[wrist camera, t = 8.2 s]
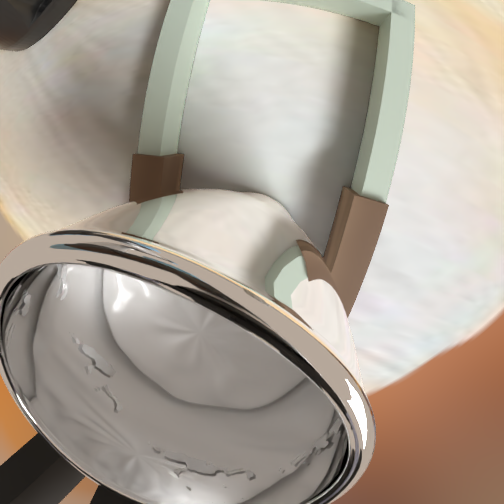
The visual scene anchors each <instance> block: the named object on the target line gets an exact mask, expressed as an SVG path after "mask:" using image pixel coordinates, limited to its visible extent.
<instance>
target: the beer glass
mask: <svg viewBox="0 0 504 504" xmlns="http://www.w3.org/2000/svg"><path fill="white" fill-rule="evenodd" d="M0 373H1V376H2V378H3V380H4V382H5V384H6V386H7V388H8V390H9V392H10V394H11V396H12V397H13V399H14V401H15V402H16V404H17V406H18V407H19V408H20V410H21V412H22V413H23V415H24V416H25V417H26V419H27V420H28V421H29V423H30V424H31V425H32V426H33V428H34V429H35V430H36V431H37V432H38V434H39V435H40V436H41V437H42V438H43V439H44V440H45V441H46V442H47V443H48V444H49V445H50V446H51V447H52V448H53V449H54V450H55V451H56V452H57V453H58V454H59V455H60V456H61V457H62V458H63V459H64V460H66V461H67V462H68V463H69V464H70V465H72V466H73V467H74V468H75V469H77V470H78V471H79V472H81V473H82V474H83V475H85V476H86V477H88V478H89V479H91V480H92V481H94V482H95V483H97V484H98V485H100V486H102V487H103V488H105V489H107V490H108V491H110V492H112V493H114V494H116V495H118V496H120V497H122V498H124V499H126V500H128V501H130V502H132V503H134V504H330V503H332V502H333V501H335V500H337V499H338V498H339V497H341V496H342V495H343V494H345V493H346V492H347V491H348V490H350V488H351V487H353V486H354V485H355V484H356V482H357V481H358V480H359V479H360V477H361V476H362V475H363V473H364V471H365V470H366V468H367V467H368V465H369V463H370V460H371V458H372V455H373V452H374V447H375V439H376V427H375V420H374V415H373V411H372V408H371V405H370V403H369V400H368V398H367V395H366V393H365V390H364V386H363V381H362V377H361V372H360V368H359V363H358V358H357V354H356V349H355V345H354V340H353V336H352V333H351V329H350V326H349V322H348V319H347V315H346V312H345V308H344V305H343V302H342V299H341V297H340V294H339V292H338V289H337V287H336V285H335V282H334V280H333V277H332V275H331V273H330V271H329V269H328V266H327V265H326V263H325V261H324V259H323V257H322V256H321V254H320V253H319V251H318V250H317V248H316V247H315V246H314V244H313V243H312V241H311V240H310V239H309V237H308V236H307V235H306V233H305V232H304V231H303V230H302V229H301V228H300V227H299V226H298V225H297V224H296V223H295V222H294V221H293V219H292V217H291V216H290V214H289V213H288V211H287V210H286V209H285V208H284V207H283V206H282V205H281V204H280V203H278V202H277V201H276V200H274V199H272V198H271V197H268V196H266V195H264V194H260V193H255V192H237V191H231V190H224V189H184V190H177V191H172V192H167V193H162V194H157V195H152V196H148V197H144V198H141V199H138V200H135V201H132V202H129V203H126V204H123V205H120V206H117V207H114V208H111V209H108V210H105V211H103V212H100V213H98V214H95V215H93V216H90V217H88V218H86V219H83V220H81V221H78V222H76V223H74V224H71V225H69V226H66V227H64V228H61V229H59V230H53V231H49V232H45V233H41V234H38V235H35V236H33V237H31V238H29V239H27V240H25V241H23V242H22V243H20V244H19V245H18V246H16V247H15V248H14V249H13V250H12V251H10V252H9V253H8V255H7V256H6V257H5V258H4V259H3V261H2V262H1V264H0Z"/></svg>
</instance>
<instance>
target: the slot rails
mask: <svg viewBox="0 0 504 504" xmlns="http://www.w3.org/2000/svg"><path fill="white" fill-rule="evenodd" d="M183 159H184V154H170V155H164V156H155V155H145V154H133V158H132V169H131V182H130V199H129V202H132V201H135V200H138V199H141V198H144V197H148V196H152V195H157V194H162V193H167V192H172V191H177V190H180V182H181V174H182V166H183ZM388 206H389V205H388V204H386V203H384V202H380V201H377V200H374V199H370V198H367V197H363V196H360V195H359V194H358V193H357V192H355V191H354V190H352V189H351V188H348V187H345V186H343V188H342V192H341V196H340V200H339V204H338V207H337V211H336V215H335V219H334V222H333V226H332V229H331V233H330V236H329V240H328V243H327V247H326V250H325V253H324V257H323V259H324V261H325V263H326V265H327V266H328V269H329V271H330V273H331V275H332V277H333V280H334V282H335V285H336V287H337V289H338V292H339V294H340V297H341V299H342V302H343V305H344V308H345V312H346V315H347V319H348V316H349V314H350V312H351V309H352V307H353V305H354V302H355V300H356V297H357V295H358V292H359V290H360V287H361V285H362V282H363V280H364V277H365V275H366V272H367V269H368V267H369V264H370V261H371V258H372V256H373V253H374V250H375V247H376V244H377V241H378V238H379V235H380V232H381V229H382V226H383V222H384V219H385V216H386V213H387V209H388Z"/></svg>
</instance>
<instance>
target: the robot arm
mask: <svg viewBox="0 0 504 504" xmlns="http://www.w3.org/2000/svg"><path fill="white" fill-rule="evenodd" d="M76 1H77V0H0V49H2V50H9V51H21V50H24V49H26V48H28V47H30V46H32V45H33V44H34V43H36V42H37V41H38V40H40V39H41V38H42V37H43V36H44V35H45V34H46V33H48V32H49V31H50V30H51V29H52V28H53V27H54V26H55V25H56V24H57V23H58V21H59V20H60V19H61V18H62V17H63V16H64V15H65V14H66V13H67V11H68V10H69V9H70V8H71V7H72V5H73V4H74V3H75V2H76ZM84 477H85V475H83V474H82V473H81V472H79V471H78V470H77V469H75V468H74V467H73V466H72V465H70V464H69V463H68V462H67V461H66V460H64V459H63V458H62V457H61V456H60V455H59V454H58V453H57V452H56V451H55V450H54V449H53V448H52V447H51V446H50V445H49V444H48V443H47V442H46V441H45V440H44V439H43V438H42V437H41V436H40V435H39V434H36V436H34V437H33V438H32V439H31V440H30V441H28V442H27V443H26V444H25V445H24V446H23V447H22V448H20V449H19V450H18V451H17V452H16V453H15V454H13V455H12V456H11V457H10V458H9V459H8V460H7V461H6V462H4V463H3V464H2V465H1V466H0V504H58V503H60V502H61V500H62V499H64V498H65V496H66V495H68V493H69V492H71V491H72V489H73V488H74V487H75V486H76V485H77V484H78V483H79V482H80V481H81V480H82V479H83V478H84ZM90 504H134V503H132V502H130V501H128V500H126V499H124V498H122V497H120V496H118V495H116V494H114V493H112V492H110V491H108V490H107V489H105V488H103V487H102V486H100V485H99V486H98V488H97V490H96V492H95V494H94V496H93V498H92V500H91V503H90Z"/></svg>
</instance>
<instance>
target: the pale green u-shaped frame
mask: <svg viewBox="0 0 504 504" xmlns="http://www.w3.org/2000/svg"><path fill="white" fill-rule="evenodd" d="M266 1H275V2H283V3H290V4H296V5H302V6H307V7H312V8H317V9H321V10H326V11H330V12H334V13H338V14H341V15H345V16H349V17H352V18H355V19H359V20H362V21H365V22H368V23H371V24H374V25H376V26H379V35H378V45H377V53H376V61H375V68H374V75H373V82H372V88H371V94H370V100H369V106H368V111H367V117H366V122H365V127H364V132H363V137H362V142H361V146H360V151H359V155H358V160H357V164H356V168H355V172H354V177H353V181H352V185H351V189H352V190H354V191H355V192H357V193H358V194H359V195H360V196H363V197H367V198H370V199H374V200H377V201H380V202H384V203H386V200H387V196H388V193H389V189H390V185H391V181H392V177H393V173H394V169H395V165H396V161H397V157H398V152H399V147H400V143H401V138H402V133H403V127H404V122H405V116H406V110H407V104H408V97H409V90H410V82H411V73H412V63H413V51H414V33H415V5H413V4H411V3H409V2H406V1H404V0H266ZM209 2H210V0H171V1H170V4H169V6H168V9H167V13H166V16H165V19H164V22H163V25H162V29H161V32H160V36H159V40H158V43H157V47H156V51H155V55H154V59H153V63H152V68H151V72H150V77H149V82H148V87H147V92H146V97H145V103H144V109H143V115H142V121H141V128H140V135H139V143H138V152H137V154H145V155H155V156H164V155H170V154H177V149H178V142H179V136H180V129H181V123H182V117H183V111H184V106H185V100H186V95H187V90H188V85H189V80H190V75H191V71H192V66H193V62H194V58H195V53H196V49H197V45H198V41H199V37H200V34H201V30H202V26H203V22H204V19H205V15H206V12H207V9H208V5H209Z"/></svg>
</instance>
